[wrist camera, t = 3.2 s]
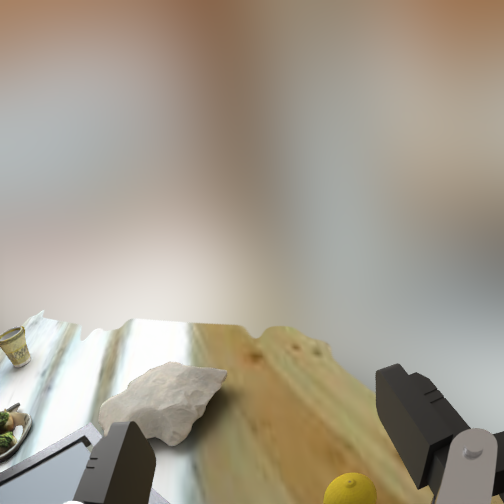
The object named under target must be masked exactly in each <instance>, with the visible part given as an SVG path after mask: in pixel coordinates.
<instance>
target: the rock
mask: <svg viewBox="0 0 504 504" xmlns="http://www.w3.org/2000/svg"><path fill="white" fill-rule="evenodd" d="M226 377H227V371H226V370H219V369H216V368H200V367H194V366H186V365H182V364H180V363H177V362H168V363H166V364H164V365H161V366H158V367H155V368H152V369H150V370H149V371H147V372H146V373H145V374H143V375H141V376H140V377H138V378H136V379H134V380H133V381H131V382H130V383H129V385H128V388H127V390H125V391H124V392H122V393H120V394H118V395H115V396H112V397H110V398H109V399H108V400H106V401H105V402H104V403H103V404H102V406H101V408H100V411H99V424H100V426H101V427H102V429H103V430H104V437H106V436H107V434H108V431H109V429H110V426H111V424H112V423H113V422H126V421H134V422H136V423H137V424H138V426H139V428H140V429H141V431H142V433H143V434H144V436H145V438H146V439H148V438H153V437H156V438H159V439H161V440H162V441H164V442H165V443H167V444H168V445H169V446H175V445H178V444H179V443H180V442H182V441H183V440H184V439H185V438H186V437H187V436H188V434H189V432H190V431H191V427H192V424H193V423H194V422H195V420H197V419H198V418H200V417H201V416H203V413H204V411H205V409H206V405H207V403H208V402H209V401H210V399H211V398H212V396H213V395H214V393H215V392H216V391H218V390H219V389H220V388H221V385H222V383H223V382H224V381H225V379H226Z"/></svg>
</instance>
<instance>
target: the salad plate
mask: <svg viewBox="0 0 504 504" xmlns="http://www.w3.org/2000/svg"><path fill="white" fill-rule="evenodd" d="M19 406H20V403H17V404H15V405H13V406H12V407H10V408H9V409H7V410H6V409H4V411H1V412H0V462H3V461H5V460H7V459H9V458H10V457H11V456H12V455H13V454H14V453H15V452H16V451H17V450H18V448H19V446H20V445H21V443H22V442H23V440H24V439H25V437H26V435H27V433H28V431H29V429H30V427H31V423H32V419H31V416H30V415H29V414H27V413H18V412H17V409H18V408H19ZM18 425H22V426H23V433H22V436H21V438H20V440H19V441H18V442H17V440H16V438H15V437H14V436H13V433H12V432H13V430H14V429H15V427H16V426H18Z"/></svg>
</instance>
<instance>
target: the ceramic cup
mask: <svg viewBox="0 0 504 504" xmlns="http://www.w3.org/2000/svg"><path fill="white" fill-rule="evenodd" d="M22 328H23V329H22ZM23 331H24V332H23ZM0 347H1V348H2V350H3V351H4V352H5V353H6V355H7V356H8V358H9V359H10V361H11V362H12V364H13V365H14V366H15V367H22V366H24V365H26V364H27V363H28V362H29V361H30V360H31V357H30V354H29V351H28V348H27V345H26V340H25V329H24V327H23V326H20V327H14V328H11V329H9V330H7V331H5V332H3V333H2V334H0Z"/></svg>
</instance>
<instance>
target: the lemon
mask: <svg viewBox="0 0 504 504" xmlns="http://www.w3.org/2000/svg"><path fill="white" fill-rule="evenodd" d="M376 499H377V494H376V488H375V486H374V484H373V482H372V481H371V480H370V479H369V478H368V477H367V476H365V475H363V474H360V473H347V474H343V475H341V476H339V477H337V478H336V479H334V480H333V481H332V482H331V483H330V484H329V486H328V488H327V490H326V492H325V495H324V500H323V502H324V504H376Z"/></svg>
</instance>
